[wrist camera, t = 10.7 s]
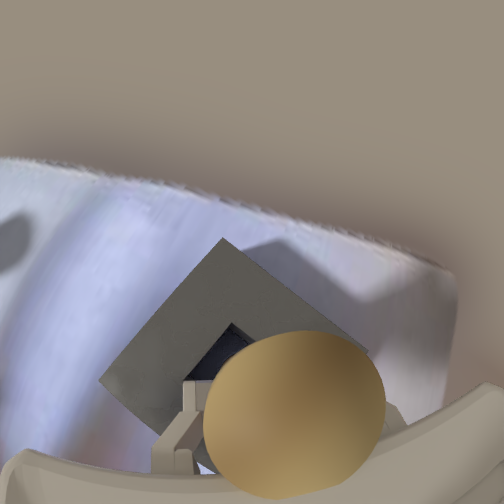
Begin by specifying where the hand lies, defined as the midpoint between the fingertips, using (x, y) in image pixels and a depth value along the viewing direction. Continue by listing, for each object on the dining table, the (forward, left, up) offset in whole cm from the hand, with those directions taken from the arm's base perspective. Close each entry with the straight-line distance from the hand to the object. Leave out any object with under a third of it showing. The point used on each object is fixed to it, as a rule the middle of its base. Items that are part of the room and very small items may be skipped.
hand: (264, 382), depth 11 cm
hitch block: (0, +1, -14) cm, 14 cm away
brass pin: (0, 0, -7) cm, 7 cm away
